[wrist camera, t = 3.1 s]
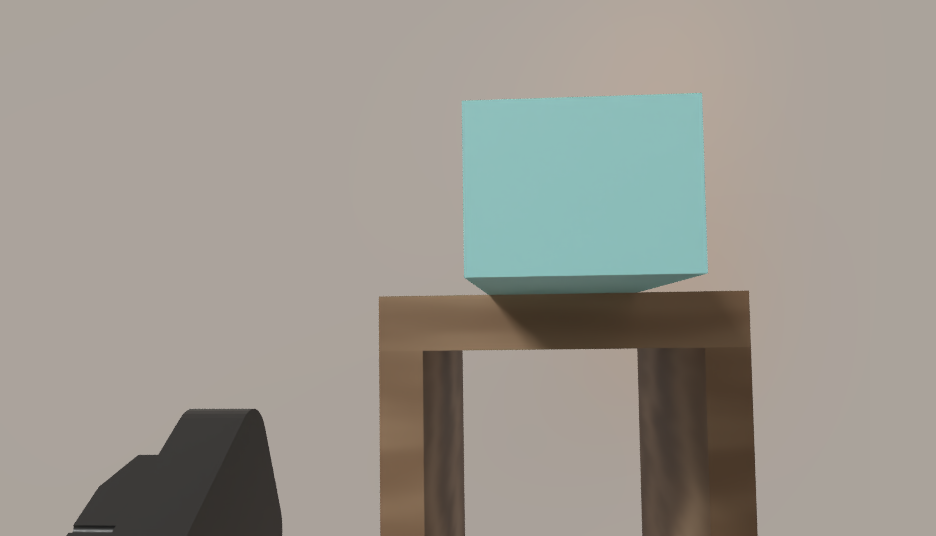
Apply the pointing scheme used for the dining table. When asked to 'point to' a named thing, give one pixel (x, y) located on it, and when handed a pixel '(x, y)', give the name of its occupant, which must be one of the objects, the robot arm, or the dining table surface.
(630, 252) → the block
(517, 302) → the stand
